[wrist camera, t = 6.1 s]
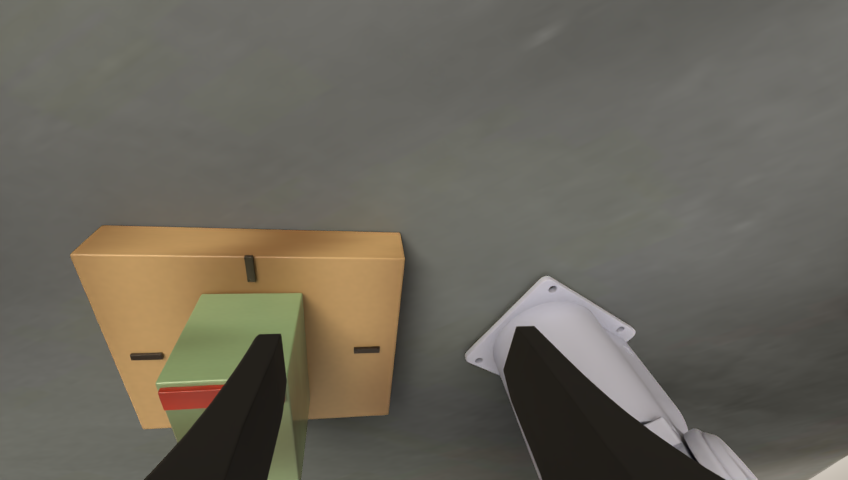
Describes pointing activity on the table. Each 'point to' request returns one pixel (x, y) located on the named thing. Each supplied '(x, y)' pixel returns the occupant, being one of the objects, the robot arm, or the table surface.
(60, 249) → the table surface
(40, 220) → the table surface
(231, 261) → the tan flat block
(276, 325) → the box
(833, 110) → the table surface
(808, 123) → the table surface
